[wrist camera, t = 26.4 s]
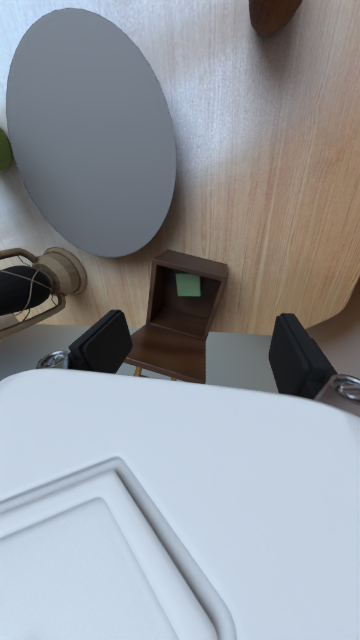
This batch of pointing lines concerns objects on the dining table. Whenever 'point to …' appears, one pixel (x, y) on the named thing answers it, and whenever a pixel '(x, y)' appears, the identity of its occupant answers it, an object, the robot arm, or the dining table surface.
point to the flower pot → (4, 152)
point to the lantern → (38, 284)
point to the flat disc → (91, 132)
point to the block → (188, 284)
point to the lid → (168, 355)
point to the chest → (184, 311)
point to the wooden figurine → (271, 14)
